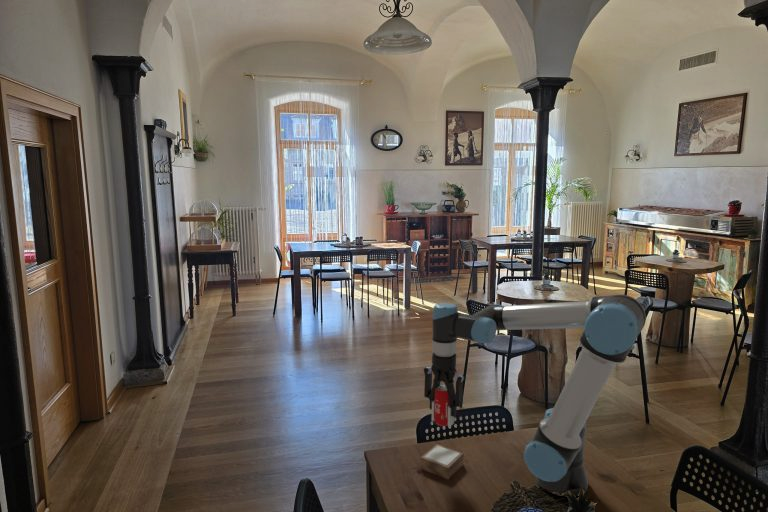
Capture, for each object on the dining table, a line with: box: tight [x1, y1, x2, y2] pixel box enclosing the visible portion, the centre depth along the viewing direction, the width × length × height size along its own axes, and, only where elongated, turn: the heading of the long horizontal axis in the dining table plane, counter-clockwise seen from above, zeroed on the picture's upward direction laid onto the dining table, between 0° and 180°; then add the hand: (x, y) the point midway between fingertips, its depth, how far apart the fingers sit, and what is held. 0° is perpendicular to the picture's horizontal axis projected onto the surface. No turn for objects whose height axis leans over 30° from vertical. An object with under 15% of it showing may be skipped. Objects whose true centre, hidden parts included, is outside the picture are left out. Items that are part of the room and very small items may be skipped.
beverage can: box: [434, 383, 450, 427], centre depth 162 cm, size 5×5×12 cm
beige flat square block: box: [420, 443, 464, 480], centre depth 166 cm, size 10×10×4 cm
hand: (442, 421), depth 163 cm, fingers closed on beverage can, 5 cm apart
